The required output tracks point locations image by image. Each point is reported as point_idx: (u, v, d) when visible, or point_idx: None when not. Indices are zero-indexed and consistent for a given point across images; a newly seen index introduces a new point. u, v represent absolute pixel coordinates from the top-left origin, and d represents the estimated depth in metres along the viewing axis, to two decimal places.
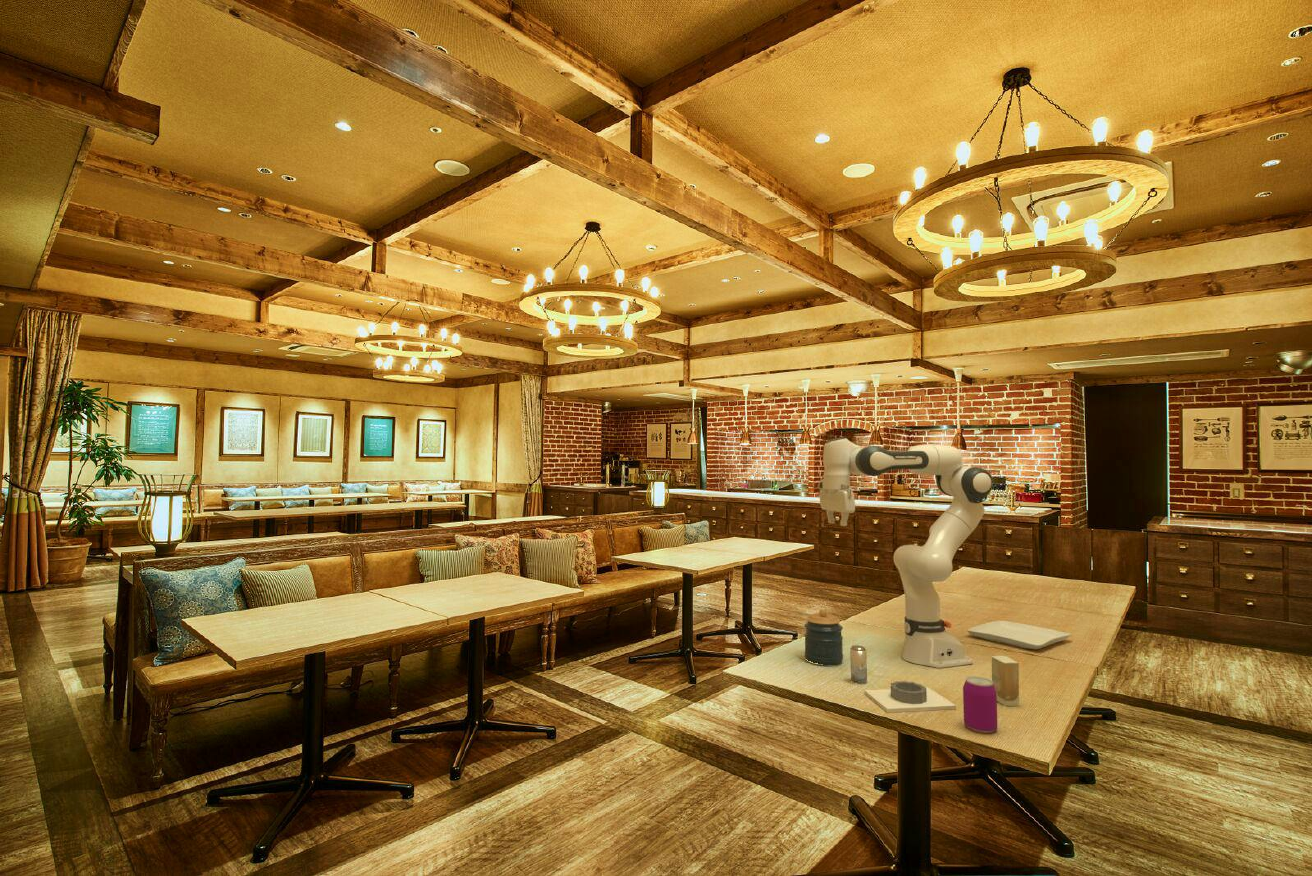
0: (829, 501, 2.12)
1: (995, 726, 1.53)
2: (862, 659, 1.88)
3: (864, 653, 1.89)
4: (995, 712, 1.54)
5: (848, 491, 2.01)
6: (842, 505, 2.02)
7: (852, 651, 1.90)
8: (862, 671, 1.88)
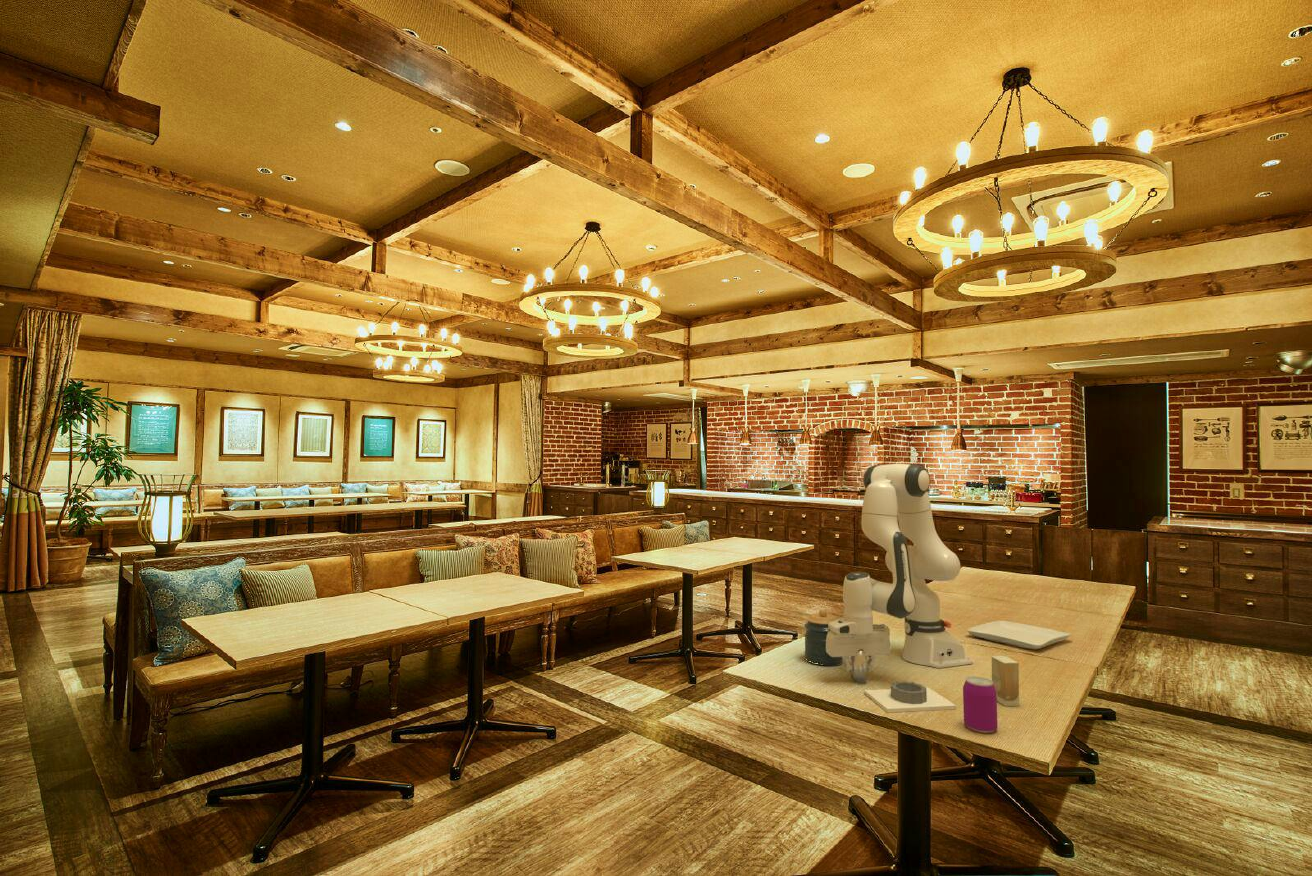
0: (854, 645, 1.89)
1: (995, 726, 1.53)
2: (862, 659, 1.88)
3: (864, 653, 1.89)
4: (995, 712, 1.54)
5: (887, 630, 1.92)
6: (885, 647, 1.90)
7: None
8: (862, 671, 1.88)
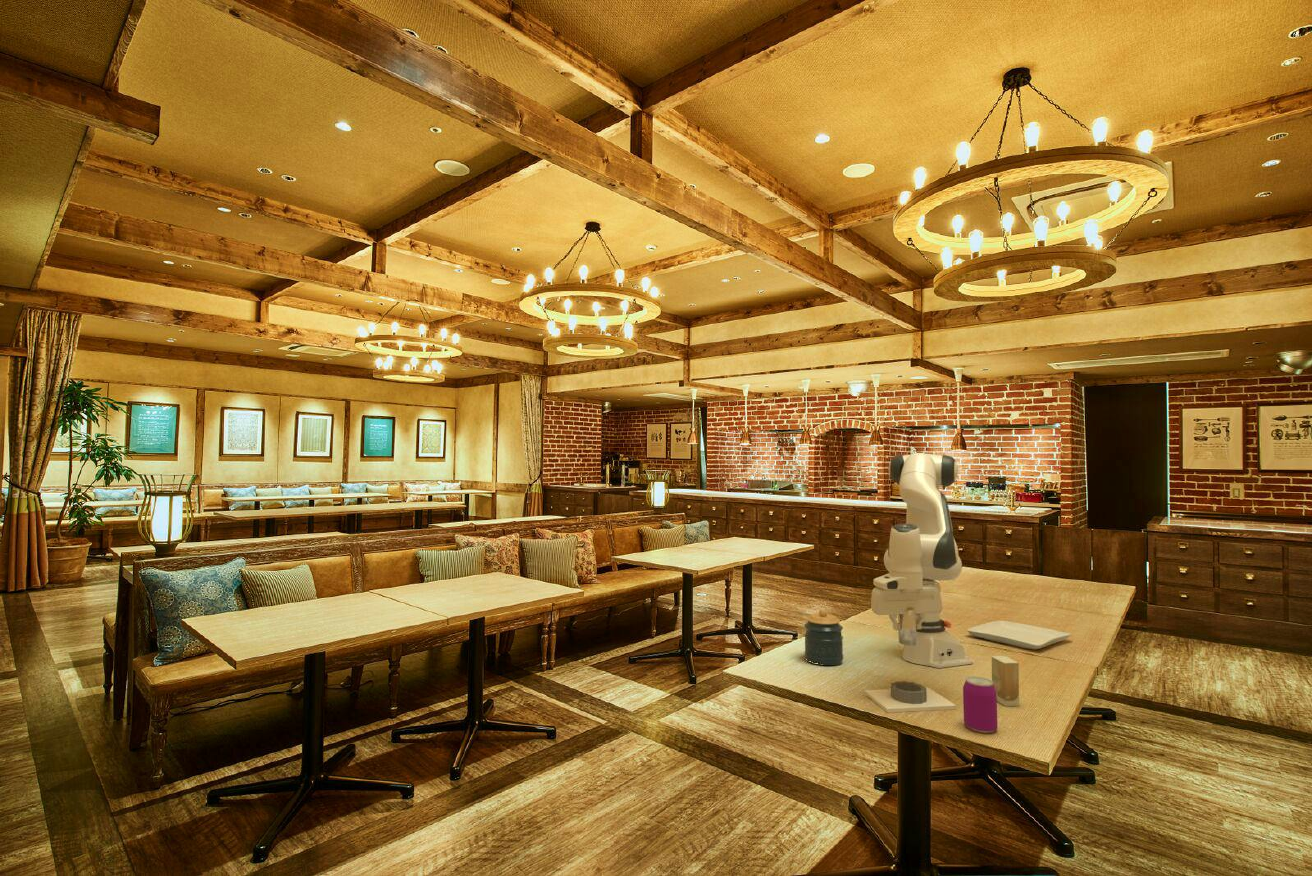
0: (903, 602, 1.74)
1: (995, 726, 1.53)
2: (912, 618, 1.73)
3: (913, 612, 1.73)
4: (995, 712, 1.54)
5: (938, 587, 1.76)
6: (936, 605, 1.75)
7: None
8: (911, 632, 1.73)
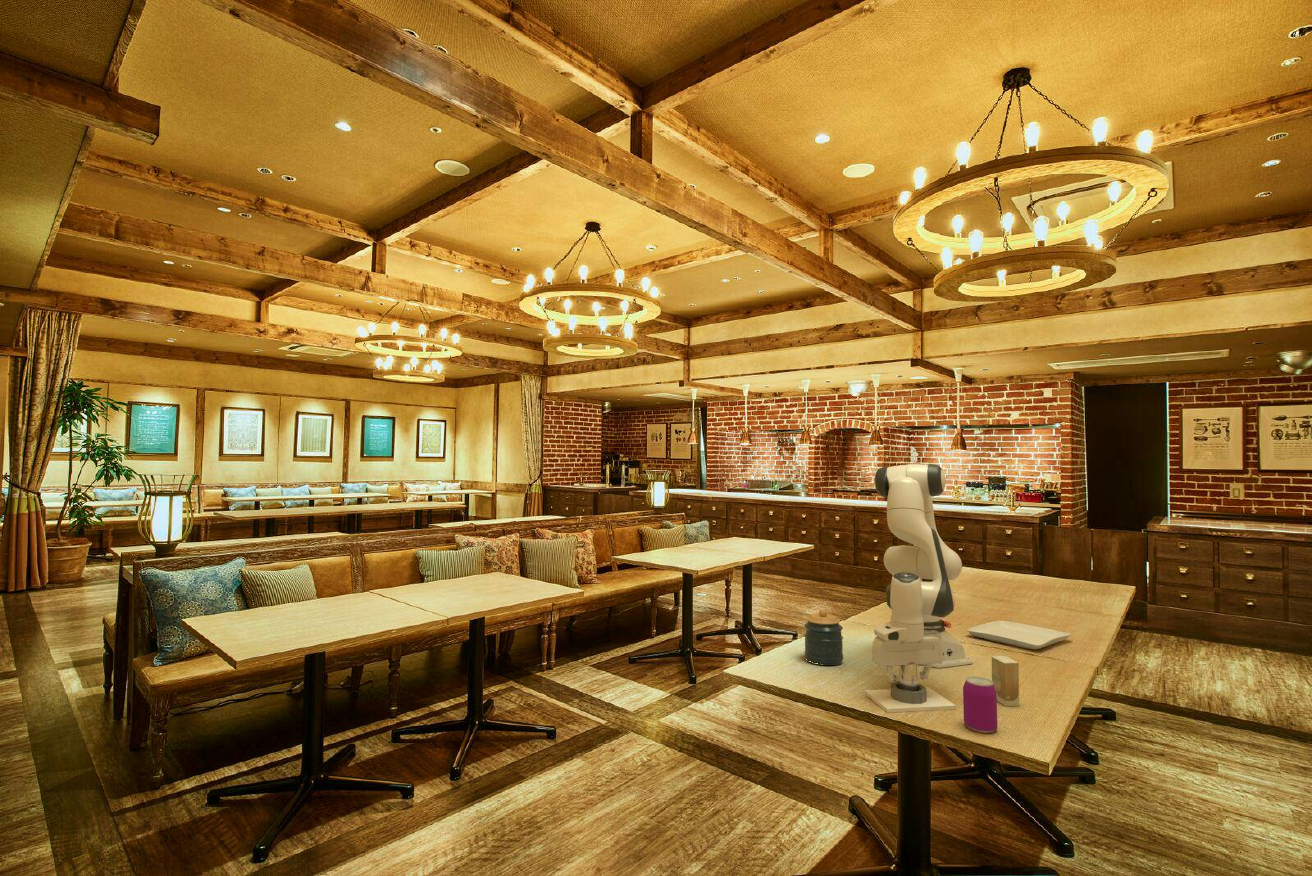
0: (904, 653, 1.73)
1: (995, 726, 1.53)
2: (913, 673, 1.72)
3: (915, 667, 1.73)
4: (995, 712, 1.54)
5: (939, 637, 1.76)
6: (937, 655, 1.74)
7: None
8: (912, 687, 1.72)
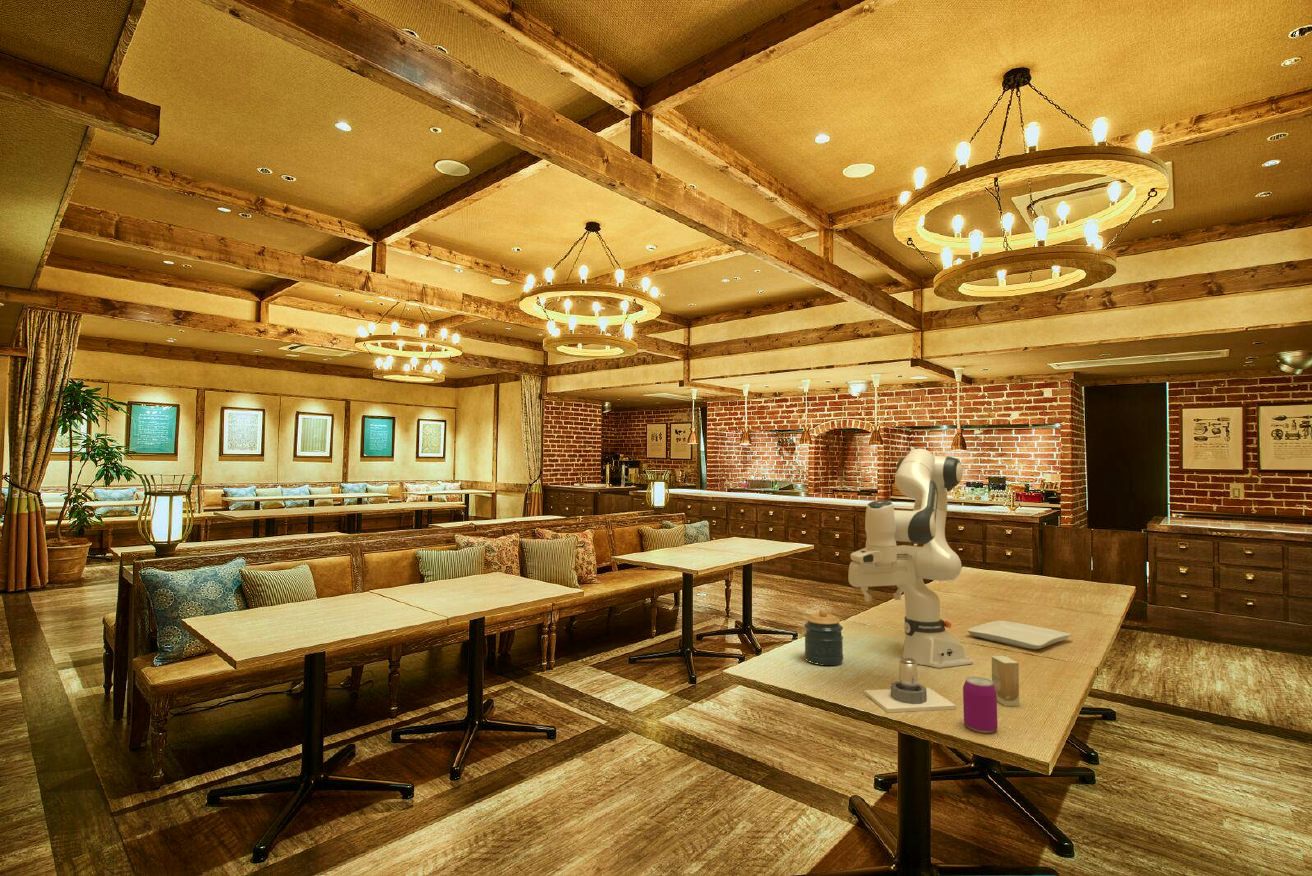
0: (878, 575, 1.83)
1: (995, 726, 1.53)
2: (913, 673, 1.72)
3: (915, 667, 1.73)
4: (995, 712, 1.54)
5: (911, 560, 1.86)
6: (909, 576, 1.84)
7: (901, 664, 1.74)
8: (912, 687, 1.72)
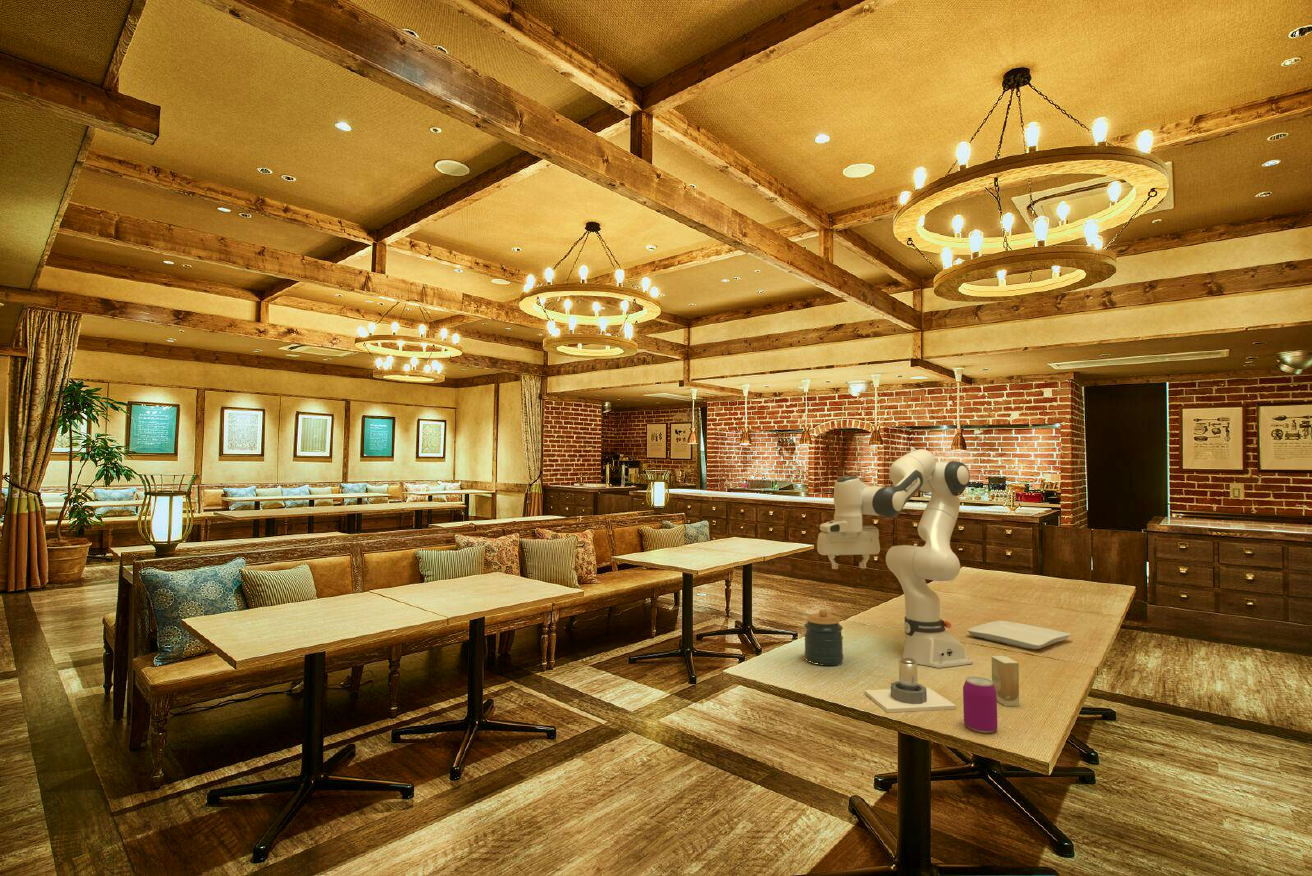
0: (845, 544, 1.96)
1: (995, 726, 1.53)
2: (913, 673, 1.72)
3: (915, 667, 1.73)
4: (995, 712, 1.54)
5: (876, 531, 1.99)
6: (874, 546, 1.97)
7: (901, 664, 1.74)
8: (912, 687, 1.72)
